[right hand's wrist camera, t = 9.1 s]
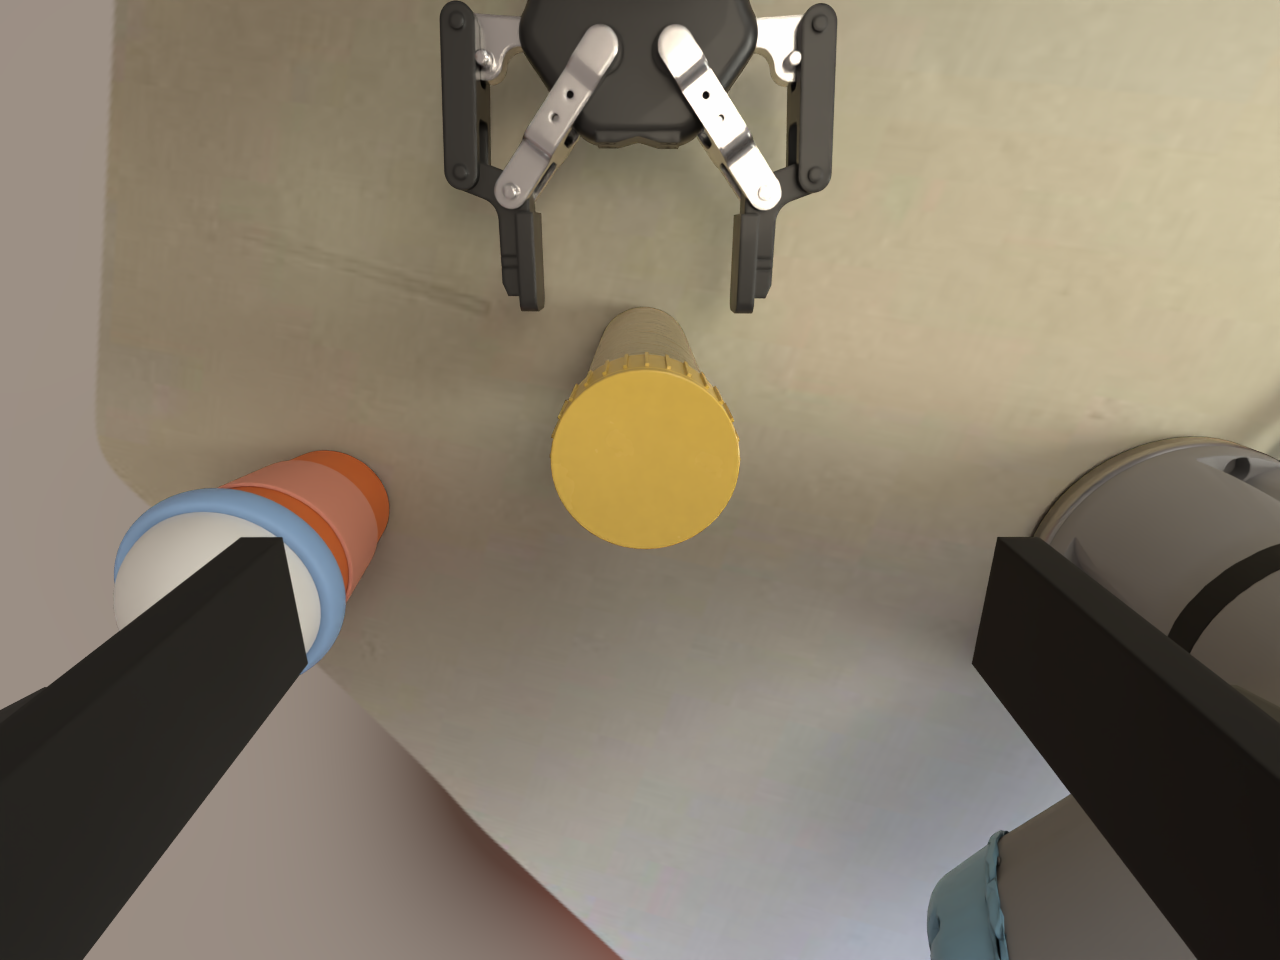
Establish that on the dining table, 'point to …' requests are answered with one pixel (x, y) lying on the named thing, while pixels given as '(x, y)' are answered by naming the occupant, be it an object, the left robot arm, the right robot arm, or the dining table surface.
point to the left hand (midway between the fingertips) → (637, 310)
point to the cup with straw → (264, 507)
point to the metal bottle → (643, 337)
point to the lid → (645, 452)
